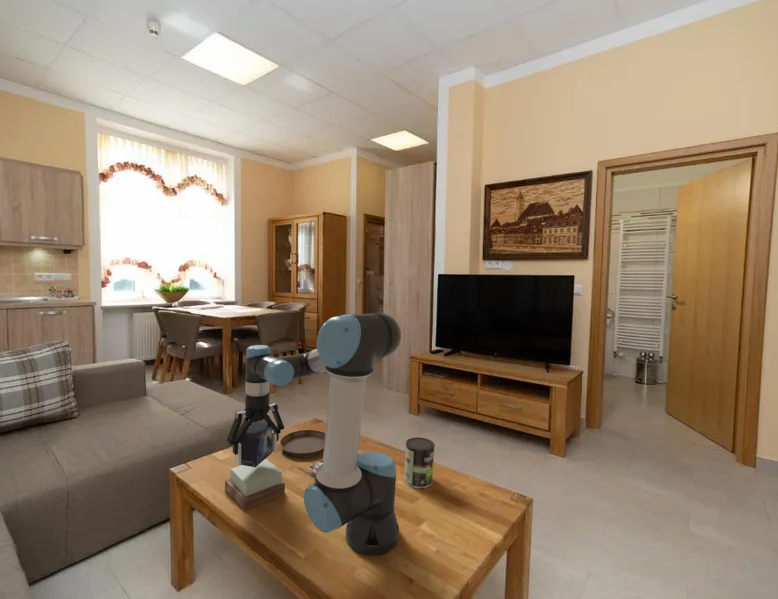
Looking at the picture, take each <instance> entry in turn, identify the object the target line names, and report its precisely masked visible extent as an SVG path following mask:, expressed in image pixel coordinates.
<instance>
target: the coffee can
mask: <svg viewBox="0 0 778 599" xmlns="http://www.w3.org/2000/svg"><path fill="white" fill-rule="evenodd" d="M435 448H436V447H435V442H434V441H433V440H431V439H429V438H424V437H411V438H408V439H407V440H406V441H405V458H404V459H405V462H404V476H403V477H404V478H403V479H404V480H403V481H404V483H405V484H406V486H408V487H410V488H413V489H417V488H418V489H419V490H421V489H420V488H424V489H427V488H426V487H428V488H430V487H431V486H432V485H433V473H434V456H435V454H434V453H435ZM431 484H432V485H431ZM429 486H430V487H429ZM418 489H417V490H418Z"/></svg>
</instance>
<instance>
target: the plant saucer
mask: <svg viewBox="0 0 778 599" xmlns="http://www.w3.org/2000/svg"><path fill="white" fill-rule="evenodd" d="M325 433H326V432H323V431H321V430H316V429H315V430H314V429H302V430H295V431H292V432H289V433H287V434H286V435H284V436H282V438H281V439H280V442H279V445H280V447H281V449H282V450H283V451H284V452H285V453H287V454H289V455H291V456H293V457H297V458H298V457H299V458H306V457H313V456H316V455H318V454H319V455H320V454H321V453H323V452H324V443H325Z"/></svg>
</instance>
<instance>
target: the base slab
mask: <svg viewBox="0 0 778 599" xmlns="http://www.w3.org/2000/svg"><path fill="white" fill-rule="evenodd" d="M285 486H286V482H285V481H283V480H282V479H281V483H280V484H278V485H275V486H272V487H270V488H267V489H265V490H262V491H259V492H257V493H254V494H251V495H249V496H245V495H244V494H243V493H242V492H241V491H240V490H239V489H238V488H237V487H236V486H235V484H234V483H233V482H232V481H231V478H229V479H225V480H224V491H225V490H226V491H225V492H226V493H227V494H228V495H229V497H231V498H232V497H233V498H232V500H233V501H235V502H236V503H237V504H238V505H239V507H241V509H242V510H244V511H246V510H247V509H250V508H253V507H255V506H257V505H260V504H262V503H264V502H267V501H269V500H272V499H273V498H275V497H278V496H280V495H282V494H284V493H285V494H286V491H285V490H286V487H285ZM245 509H246V510H245Z"/></svg>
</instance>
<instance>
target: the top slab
mask: <svg viewBox="0 0 778 599" xmlns="http://www.w3.org/2000/svg"><path fill="white" fill-rule="evenodd" d="M230 479H231V481H232V482H233V483H234V484H235V486H236V487H237V488H238V489H239V490H240V491H241V492H242V493H243V494H244V495H245V496H249V495H251V494H254V493H257V492H259V491H262V490H265V489H267V488H270V487H272V486H275V485H278V484H280V483H281V480H282V470H280V469H279V468H278V467H277V466H275V465H274V464H273V463H272V462H270V460H269V459H267V458H266V459H264V460H263V461H262V462H261V463H260V464H259V465H258V466H257V467H250V466H244V465H238V466H235V467H231V468H230Z"/></svg>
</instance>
